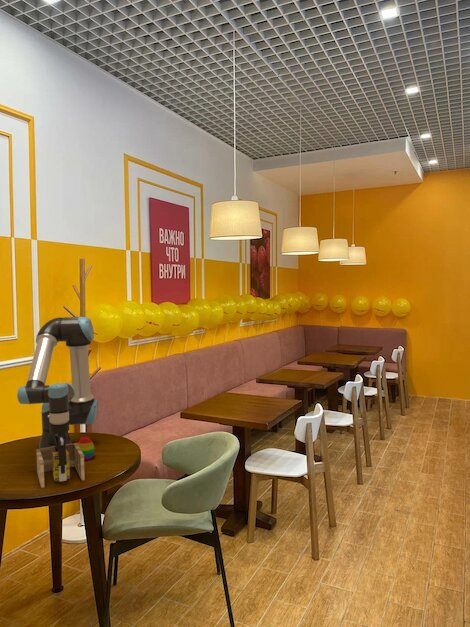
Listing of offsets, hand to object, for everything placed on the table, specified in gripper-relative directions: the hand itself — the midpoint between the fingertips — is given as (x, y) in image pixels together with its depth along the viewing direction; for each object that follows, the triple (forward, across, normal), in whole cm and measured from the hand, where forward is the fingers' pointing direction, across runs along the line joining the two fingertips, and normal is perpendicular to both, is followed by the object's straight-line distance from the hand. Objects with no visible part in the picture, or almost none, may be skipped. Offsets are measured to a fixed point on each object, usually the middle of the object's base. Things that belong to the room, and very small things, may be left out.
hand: (61, 476), depth 196 cm
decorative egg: (+1, -21, +13) cm, 25 cm away
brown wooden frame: (+1, -4, 0) cm, 4 cm away
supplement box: (+1, 0, 0) cm, 1 cm away
